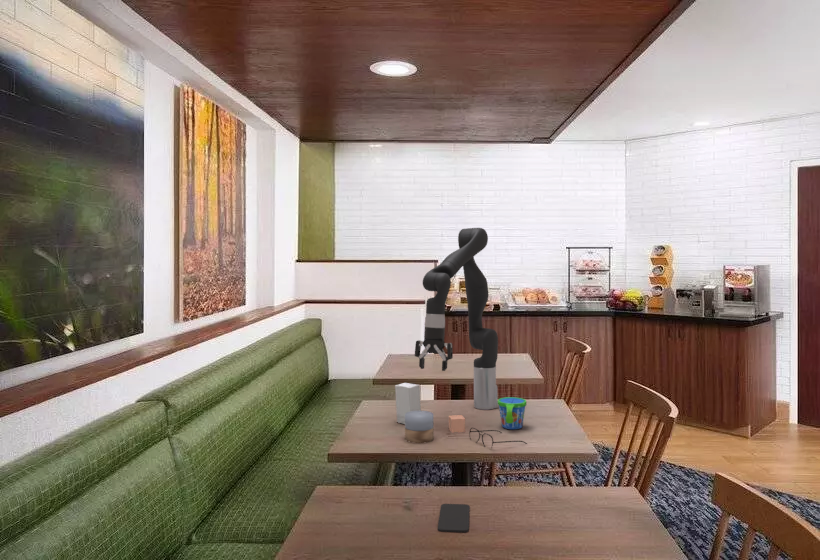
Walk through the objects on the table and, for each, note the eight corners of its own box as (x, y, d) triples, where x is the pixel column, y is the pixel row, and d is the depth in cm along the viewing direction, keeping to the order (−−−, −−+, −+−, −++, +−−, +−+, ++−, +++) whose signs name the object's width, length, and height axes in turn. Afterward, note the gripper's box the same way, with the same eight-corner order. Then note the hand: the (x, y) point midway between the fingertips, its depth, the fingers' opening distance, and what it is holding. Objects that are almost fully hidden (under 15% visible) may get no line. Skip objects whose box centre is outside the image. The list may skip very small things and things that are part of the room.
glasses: (468, 440, 210) (469, 426, 210) (502, 438, 217) (504, 425, 217) (491, 452, 197) (493, 437, 197) (527, 450, 204) (529, 435, 204)
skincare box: (421, 423, 230) (421, 384, 229) (410, 426, 226) (409, 387, 225) (406, 419, 236) (406, 381, 235) (395, 422, 232) (394, 384, 231)
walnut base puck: (430, 434, 217) (430, 422, 217) (436, 443, 207) (435, 430, 207) (403, 436, 215) (403, 423, 215) (407, 444, 206) (407, 431, 205)
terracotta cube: (461, 428, 223) (461, 415, 223) (465, 432, 218) (465, 418, 218) (448, 429, 222) (448, 415, 222) (451, 433, 218) (451, 419, 217)
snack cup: (503, 420, 233) (503, 394, 232) (530, 423, 229) (530, 396, 228) (492, 431, 218) (492, 403, 218) (521, 434, 214) (521, 406, 214)
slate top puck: (430, 422, 217) (430, 409, 217) (436, 430, 207) (435, 417, 207) (403, 423, 215) (403, 411, 215) (407, 432, 206) (407, 418, 205)
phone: (470, 504, 155) (468, 530, 140) (470, 507, 155) (468, 534, 140) (441, 503, 156) (436, 529, 141) (441, 506, 156) (436, 532, 141)
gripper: (456, 327, 225) (454, 370, 225) (420, 324, 231) (418, 366, 230) (449, 327, 218) (447, 372, 218) (413, 325, 224) (411, 369, 223)
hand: (432, 369), depth 224 cm, fingers open, 8 cm apart
